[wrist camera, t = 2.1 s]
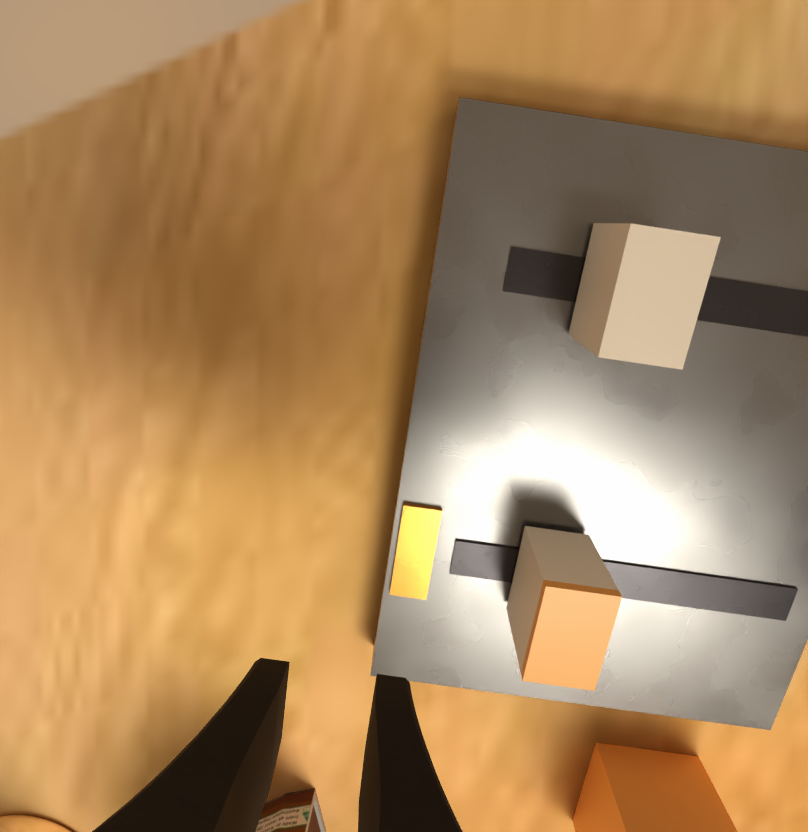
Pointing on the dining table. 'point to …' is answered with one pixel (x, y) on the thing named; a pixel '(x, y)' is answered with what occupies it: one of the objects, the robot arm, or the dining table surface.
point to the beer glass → (29, 824)
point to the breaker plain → (642, 292)
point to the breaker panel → (608, 420)
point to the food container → (292, 814)
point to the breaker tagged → (561, 608)
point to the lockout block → (648, 793)
